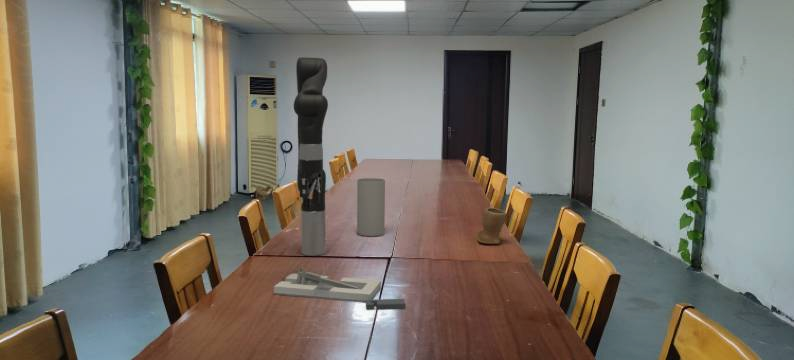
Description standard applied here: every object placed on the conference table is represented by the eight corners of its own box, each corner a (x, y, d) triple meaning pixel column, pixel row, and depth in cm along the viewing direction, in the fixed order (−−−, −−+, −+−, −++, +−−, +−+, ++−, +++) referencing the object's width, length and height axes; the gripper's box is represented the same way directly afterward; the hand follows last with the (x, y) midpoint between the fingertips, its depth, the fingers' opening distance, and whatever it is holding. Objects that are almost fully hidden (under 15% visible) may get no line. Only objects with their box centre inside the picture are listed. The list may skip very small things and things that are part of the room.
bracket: (405, 310, 156) (405, 303, 156) (366, 311, 155) (366, 304, 154) (403, 305, 160) (403, 298, 160) (365, 306, 159) (365, 299, 159)
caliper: (297, 287, 172) (296, 267, 171) (298, 286, 173) (298, 266, 172) (360, 292, 168) (361, 272, 167) (361, 291, 169) (362, 271, 168)
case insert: (292, 280, 180) (292, 273, 180) (381, 288, 174) (381, 280, 174) (274, 294, 166) (274, 286, 166) (369, 302, 160) (369, 294, 160)
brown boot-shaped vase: (505, 246, 231) (507, 211, 229) (477, 245, 232) (478, 210, 230) (502, 238, 246) (504, 205, 244) (476, 237, 247) (477, 204, 245)
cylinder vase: (383, 237, 245) (384, 181, 242) (355, 236, 245) (356, 181, 242) (384, 231, 257) (385, 178, 254) (358, 230, 257) (358, 178, 254)
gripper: (307, 154, 183) (308, 202, 186) (291, 159, 170) (292, 210, 172) (329, 155, 182) (329, 203, 184) (314, 160, 168) (314, 212, 171)
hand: (311, 207), depth 178 cm, fingers open, 8 cm apart
